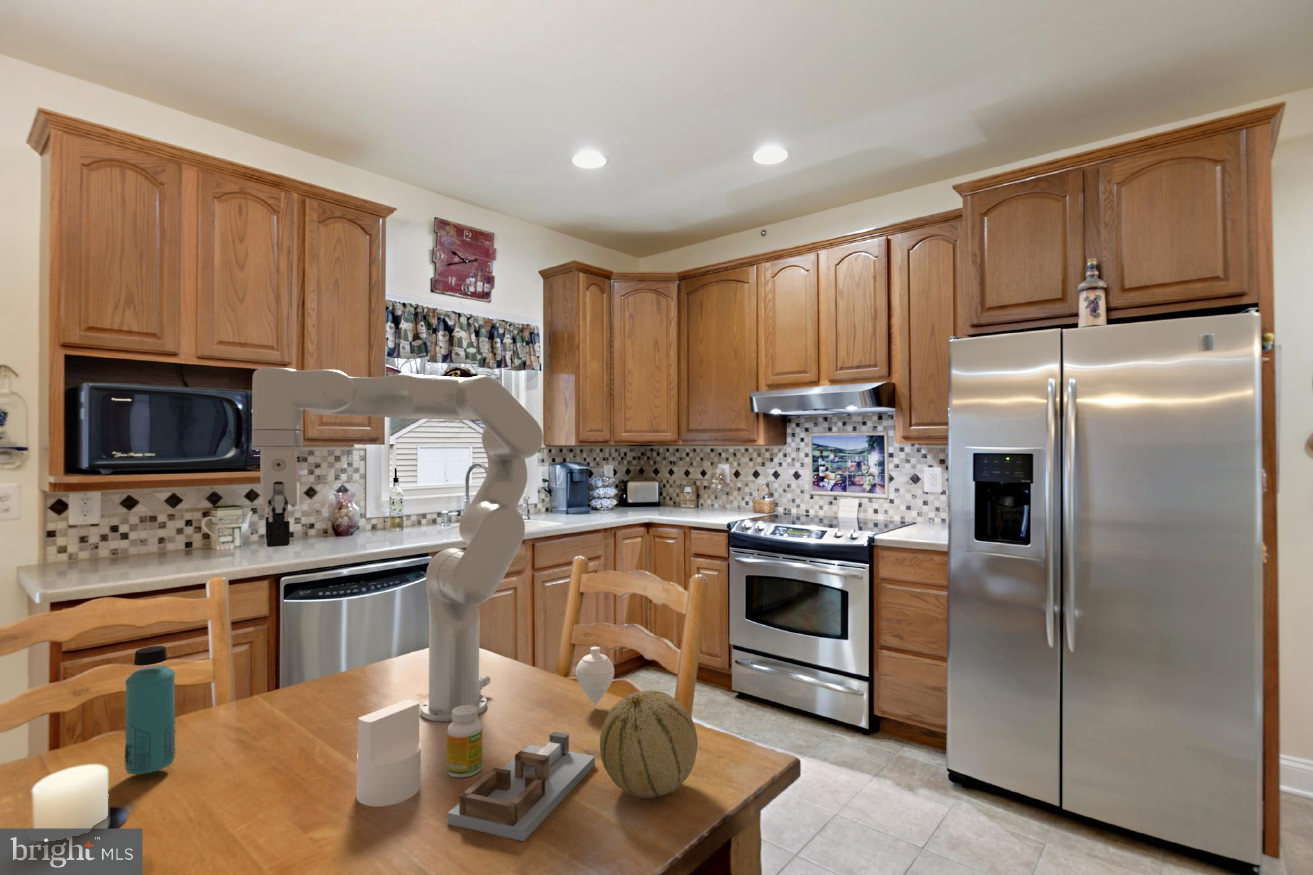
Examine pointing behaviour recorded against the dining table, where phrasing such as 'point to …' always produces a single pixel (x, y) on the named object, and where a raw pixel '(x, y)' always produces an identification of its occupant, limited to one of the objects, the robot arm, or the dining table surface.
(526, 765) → the pin
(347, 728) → the dining table surface
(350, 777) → the dining table surface
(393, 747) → the cylinder with rectangular tab
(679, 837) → the dining table surface
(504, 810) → the socket
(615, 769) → the cantaloupe
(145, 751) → the beverage bottle
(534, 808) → the dock board
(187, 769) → the dining table surface
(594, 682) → the spinning top
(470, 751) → the supplement bottle
